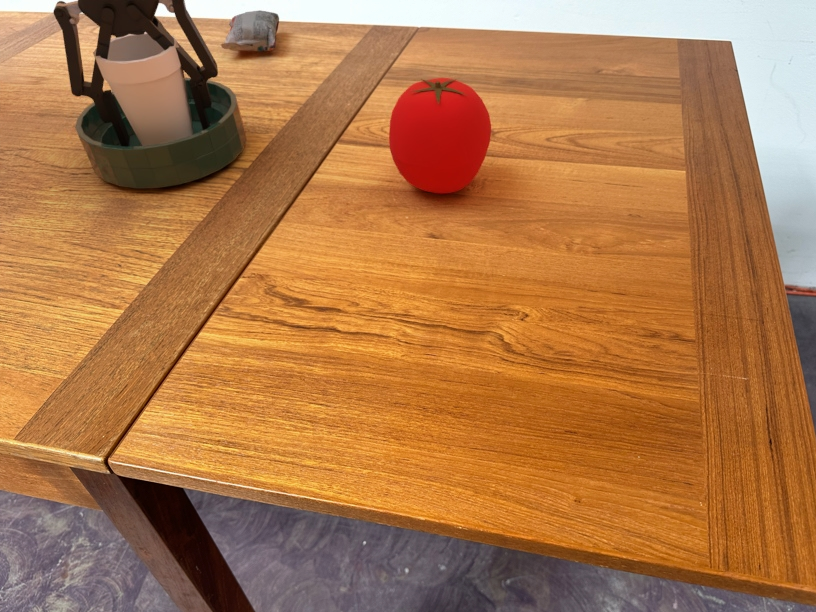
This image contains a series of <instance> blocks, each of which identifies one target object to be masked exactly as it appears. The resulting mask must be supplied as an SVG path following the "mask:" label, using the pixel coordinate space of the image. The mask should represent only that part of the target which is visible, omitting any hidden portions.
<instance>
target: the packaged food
mask: <svg viewBox="0 0 816 612" xmlns="http://www.w3.org/2000/svg"><path fill="white" fill-rule="evenodd" d="M279 23H280V17H279V14H278V13H276V12H271V11H267V10H251V11H245V12H243V13H239V14H237V15H234V16H233V17H232V18H231V20H229V24H228V25H229V27H230V28H229V31H228V32H229V33H228V34H227V35H226V38H225V41H224V42H223V43H221V44H220V46H221V48H222V49H224V50H230V51H233V52H269V51H273V50H274V49H275V48H276V44H277V33H278V29H279Z"/></svg>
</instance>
